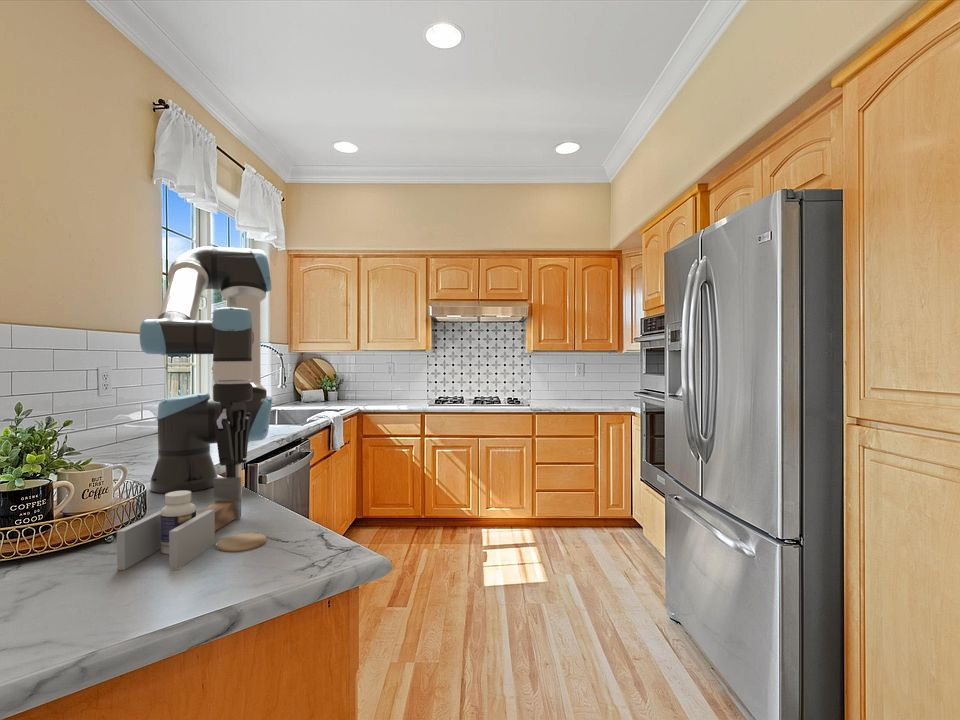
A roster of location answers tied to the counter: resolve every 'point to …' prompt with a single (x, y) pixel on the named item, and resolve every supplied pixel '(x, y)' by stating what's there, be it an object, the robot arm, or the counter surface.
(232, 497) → the sliding block
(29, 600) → the counter surface
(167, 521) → the pill bottle
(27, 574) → the counter surface
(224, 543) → the coaster
